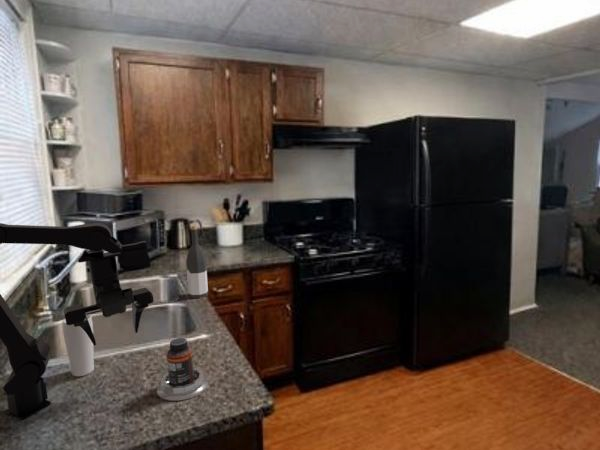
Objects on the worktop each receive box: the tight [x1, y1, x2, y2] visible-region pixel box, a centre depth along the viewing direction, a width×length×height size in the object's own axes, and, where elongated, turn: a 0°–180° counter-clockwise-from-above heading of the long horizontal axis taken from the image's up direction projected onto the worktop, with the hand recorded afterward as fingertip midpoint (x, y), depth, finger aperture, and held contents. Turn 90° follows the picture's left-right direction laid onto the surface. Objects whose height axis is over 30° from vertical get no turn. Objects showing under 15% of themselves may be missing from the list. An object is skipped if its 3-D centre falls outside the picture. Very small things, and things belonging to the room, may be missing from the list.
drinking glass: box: [62, 314, 95, 377], centre depth 102 cm, size 7×7×15 cm
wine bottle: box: [185, 225, 209, 299], centre depth 163 cm, size 8×8×30 cm
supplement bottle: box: [166, 337, 195, 386], centre depth 94 cm, size 6×6×11 cm
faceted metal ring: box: [156, 367, 209, 402], centre depth 95 cm, size 12×12×2 cm
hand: (116, 338), depth 94 cm, fingers open, 9 cm apart
